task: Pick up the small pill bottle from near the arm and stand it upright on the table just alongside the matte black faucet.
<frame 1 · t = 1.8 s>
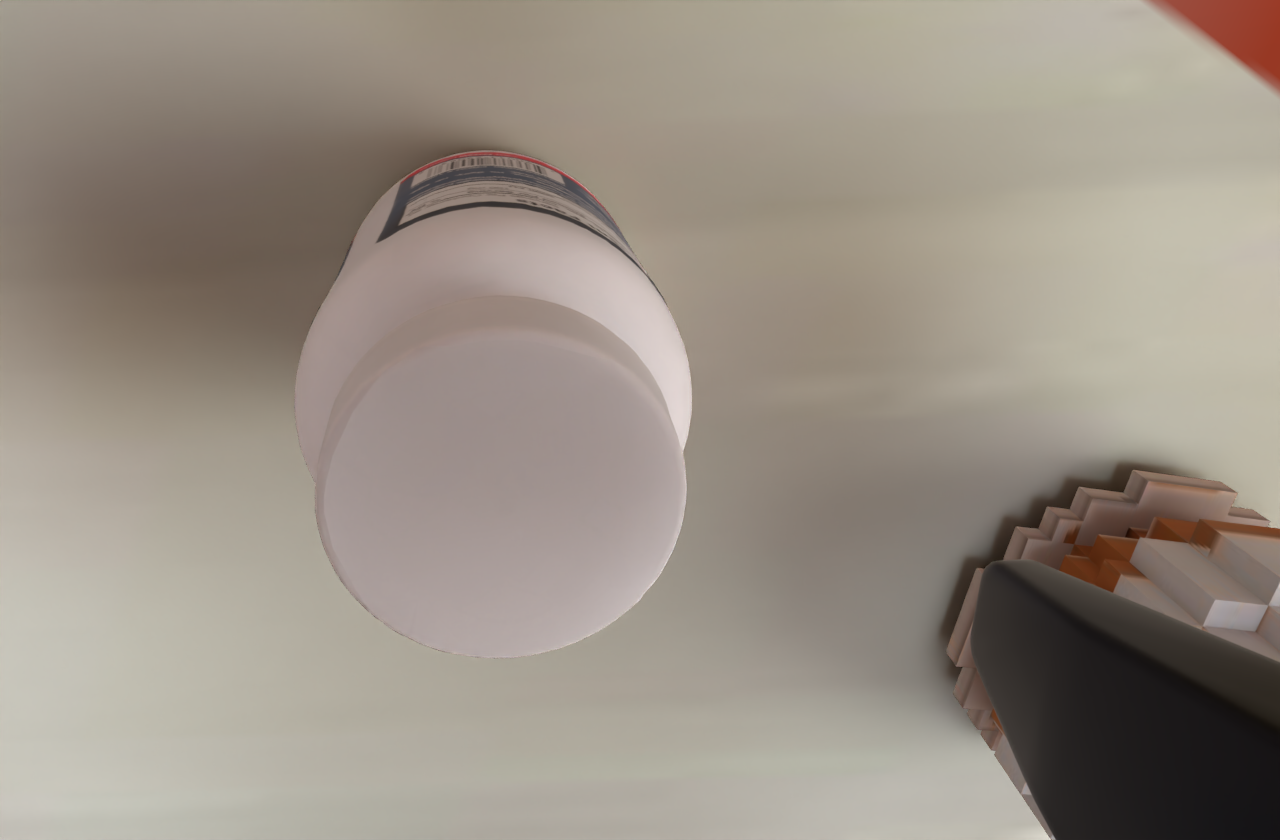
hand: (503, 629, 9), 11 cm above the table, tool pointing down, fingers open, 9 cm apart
pill bottle: (493, 287, 19), on the table
decorative ornament: (1094, 607, 24), on the table
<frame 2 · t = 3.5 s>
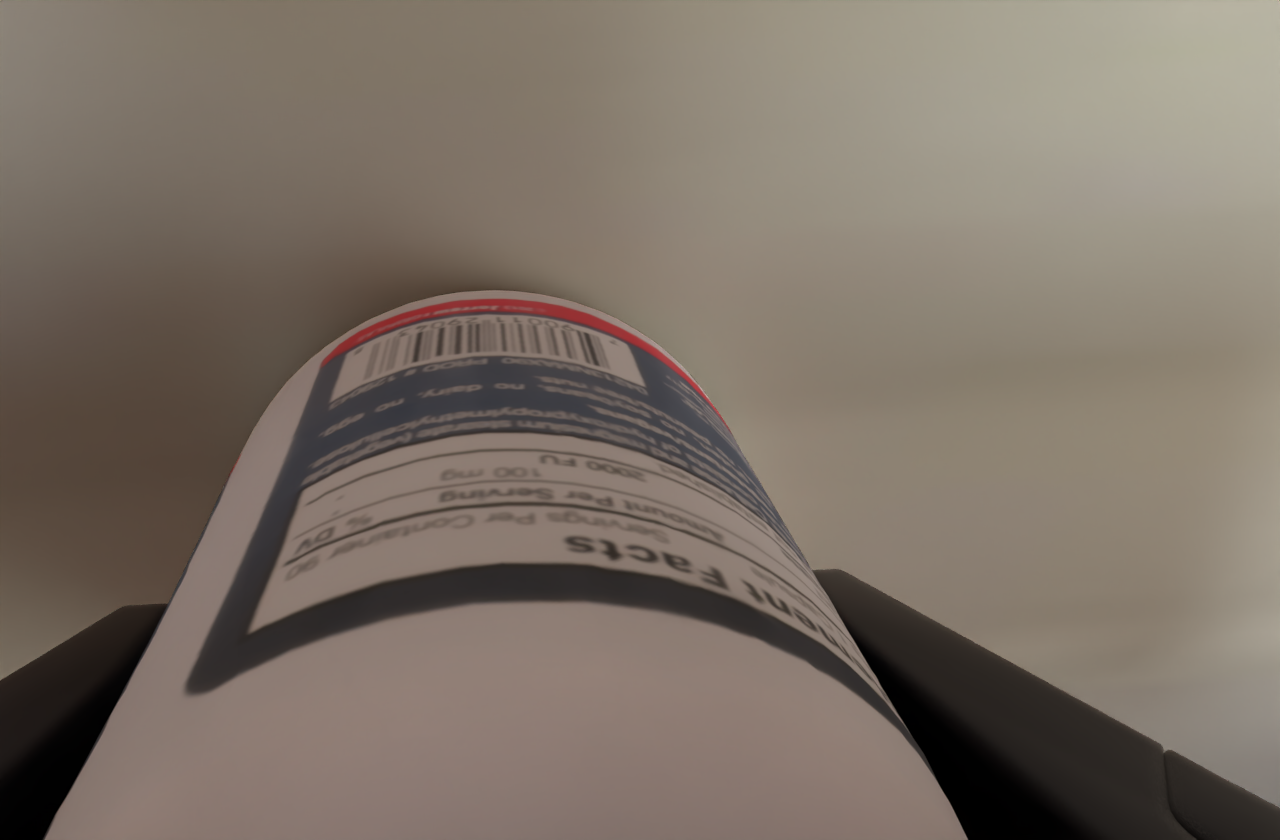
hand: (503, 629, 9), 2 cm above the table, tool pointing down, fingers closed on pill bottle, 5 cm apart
pill bottle: (498, 511, 11), on the table, touching gripper
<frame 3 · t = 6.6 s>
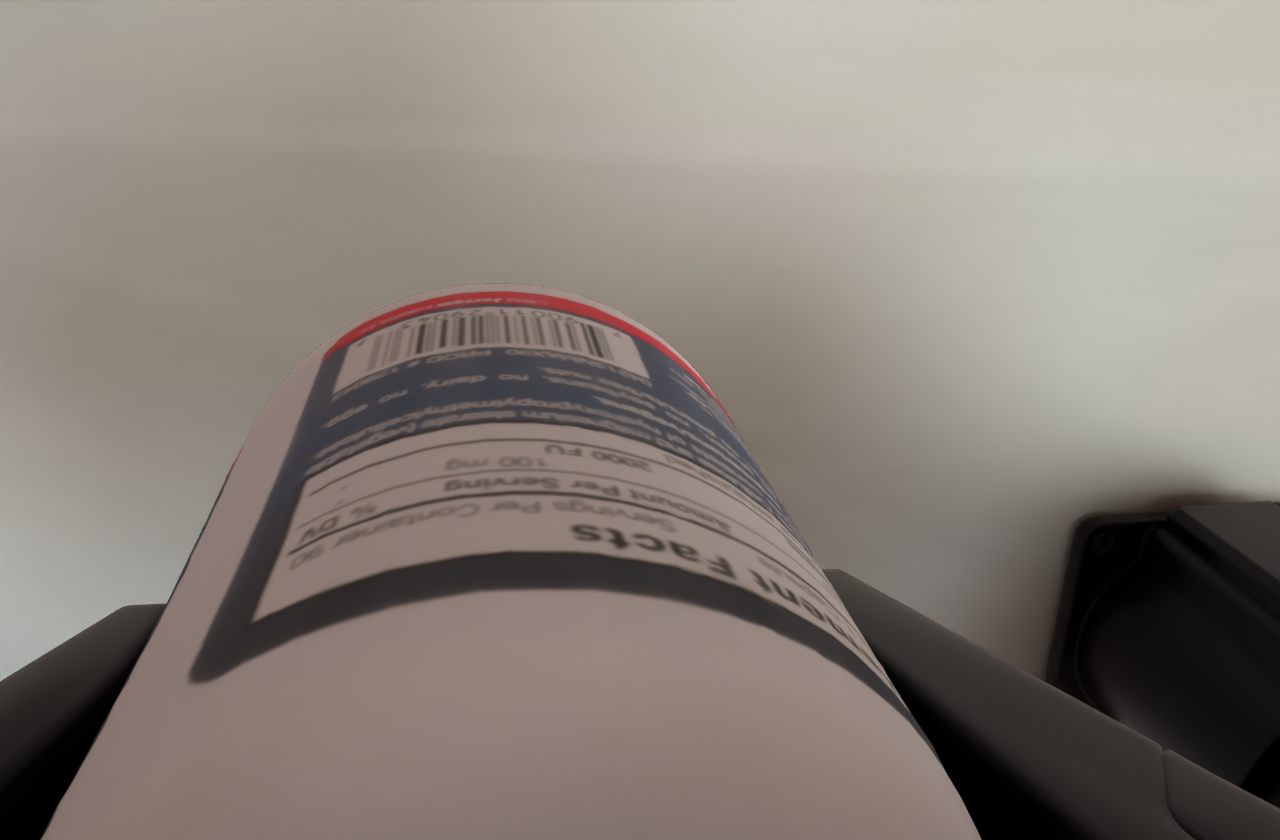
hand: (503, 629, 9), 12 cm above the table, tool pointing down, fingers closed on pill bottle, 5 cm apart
pill bottle: (500, 505, 11), point 10 cm above the table, touching gripper
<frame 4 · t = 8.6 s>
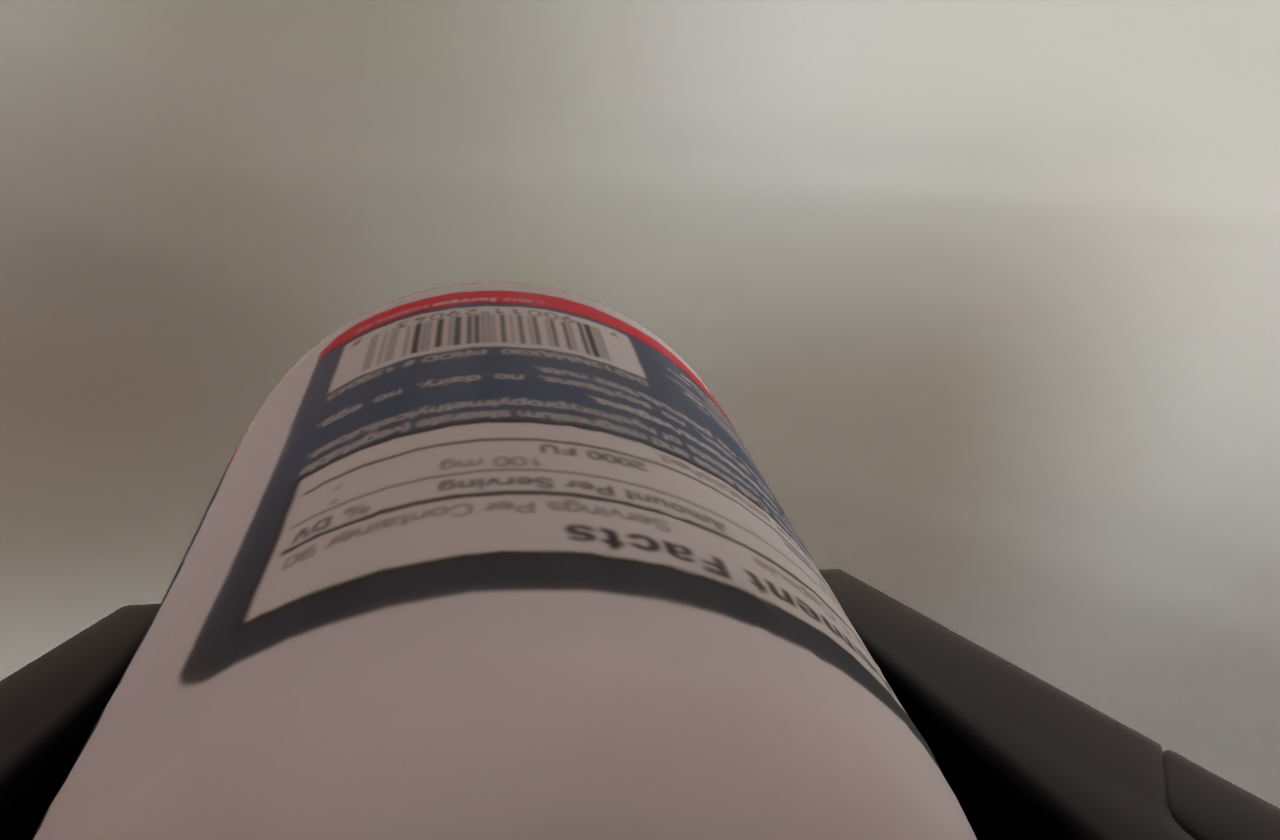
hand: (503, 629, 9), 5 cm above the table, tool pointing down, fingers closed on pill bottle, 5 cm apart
pill bottle: (497, 505, 11), point 3 cm above the table, touching gripper
when the fingers open (2 cm above the table, at t = 10.0 s): pill bottle stays where it is, on the table.
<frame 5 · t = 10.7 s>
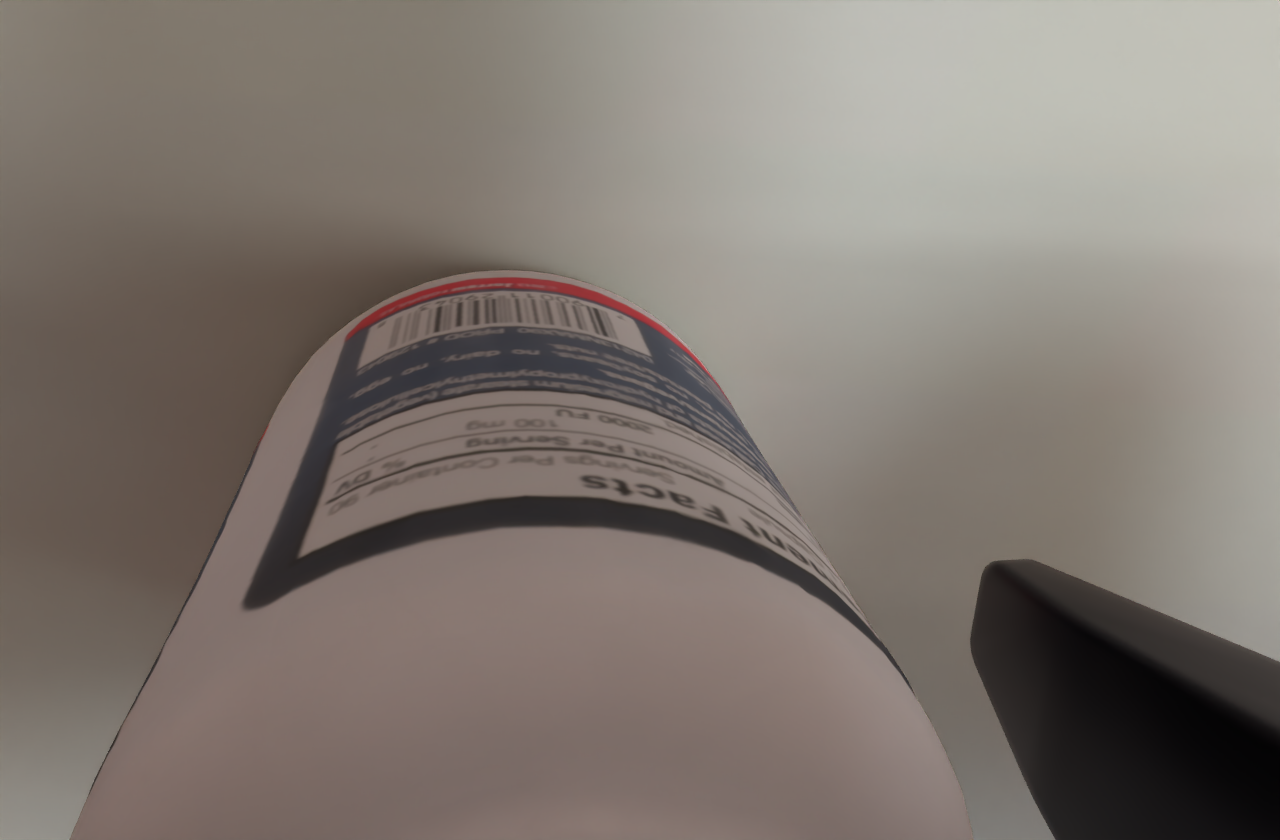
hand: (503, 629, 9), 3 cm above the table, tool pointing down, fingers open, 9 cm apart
pill bottle: (509, 483, 11), on the table
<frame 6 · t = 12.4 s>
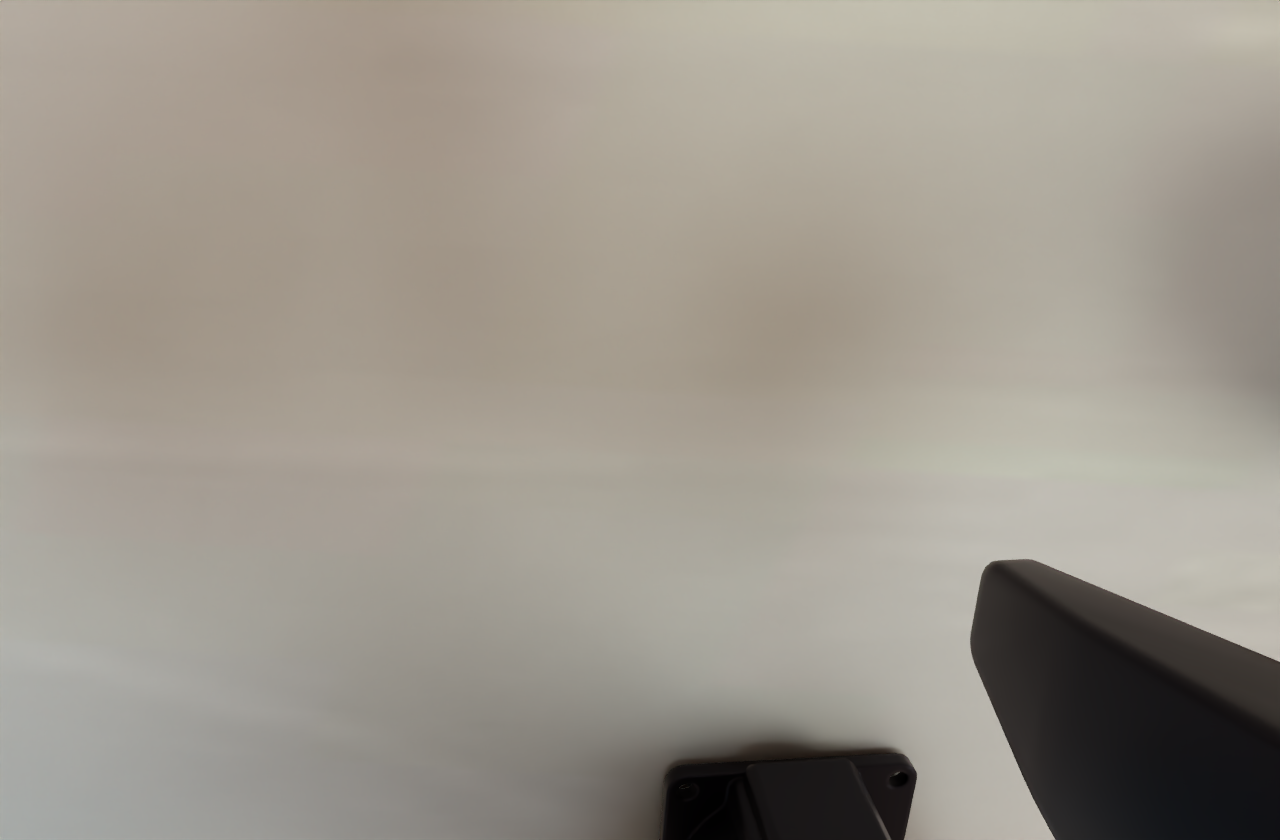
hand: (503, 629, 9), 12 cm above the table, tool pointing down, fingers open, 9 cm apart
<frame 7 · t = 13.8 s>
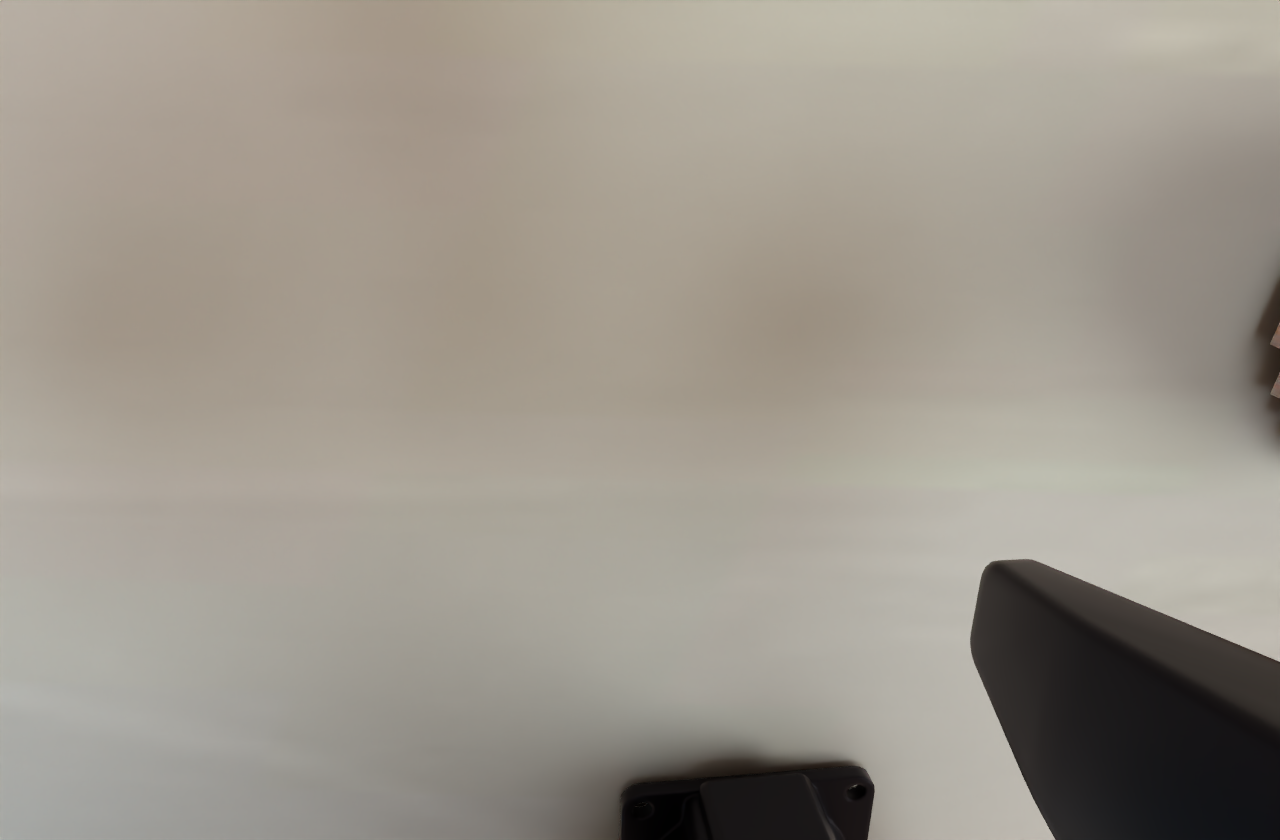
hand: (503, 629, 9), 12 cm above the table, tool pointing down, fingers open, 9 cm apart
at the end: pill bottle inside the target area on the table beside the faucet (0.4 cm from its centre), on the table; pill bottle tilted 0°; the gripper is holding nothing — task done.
